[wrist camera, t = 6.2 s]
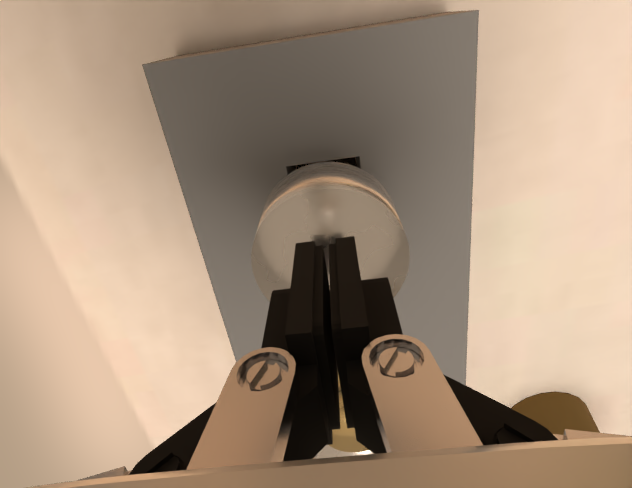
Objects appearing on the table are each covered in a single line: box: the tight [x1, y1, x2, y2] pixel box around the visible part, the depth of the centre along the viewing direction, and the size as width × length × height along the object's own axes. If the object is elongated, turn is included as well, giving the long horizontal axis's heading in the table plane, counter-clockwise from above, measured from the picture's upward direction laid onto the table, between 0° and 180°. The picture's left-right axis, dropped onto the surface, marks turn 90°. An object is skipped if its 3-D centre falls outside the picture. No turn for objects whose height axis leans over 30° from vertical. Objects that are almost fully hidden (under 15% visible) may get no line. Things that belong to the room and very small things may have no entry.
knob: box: [251, 162, 410, 301], centre depth 15 cm, size 5×5×6 cm
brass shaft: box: [329, 375, 369, 452], centre depth 18 cm, size 3×3×6 cm
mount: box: [142, 10, 479, 456], centre depth 22 cm, size 26×12×4 cm, turn 8°
